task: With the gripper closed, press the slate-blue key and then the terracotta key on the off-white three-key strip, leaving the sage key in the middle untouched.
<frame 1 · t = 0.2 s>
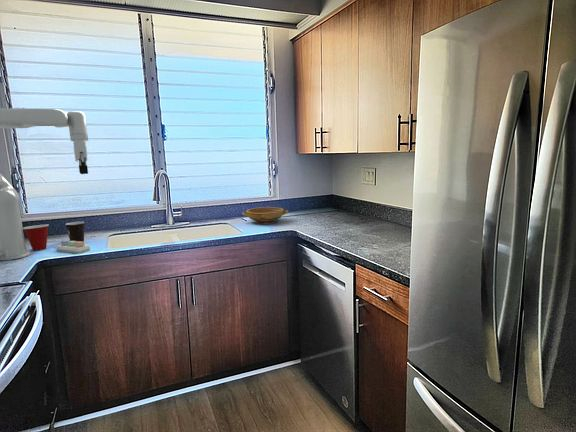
hand: (83, 173, 181), 36 cm above the worktop, tool pointing down, fingers open, 9 cm apart
sage key: (72, 243, 177), point 4 cm above the worktop, slide at 0.0 cm
keypad: (73, 250, 178), on the worktop
coffee mug: (76, 242, 195), on the worktop
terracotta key: (79, 244, 176), point 4 cm above the worktop, slide at 0.0 cm
plastic cup: (39, 249, 183), on the worktop
ceramic bowl: (265, 222, 235), on the worktop
slate blue key: (65, 242, 179), point 4 cm above the worktop, slide at 0.0 cm
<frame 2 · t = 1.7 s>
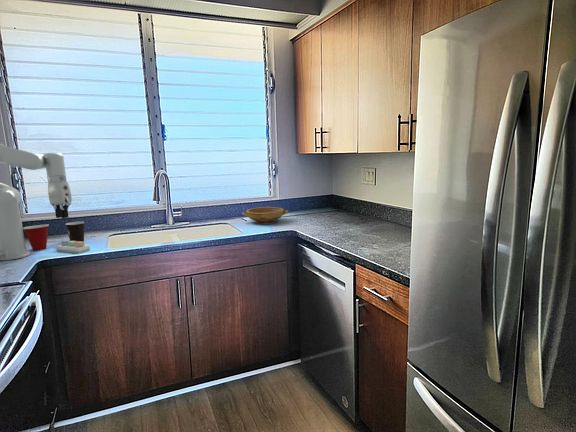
hand: (62, 217, 177), 16 cm above the worktop, tool pointing down, fingers open, 3 cm apart
nothing on the worktop moved.
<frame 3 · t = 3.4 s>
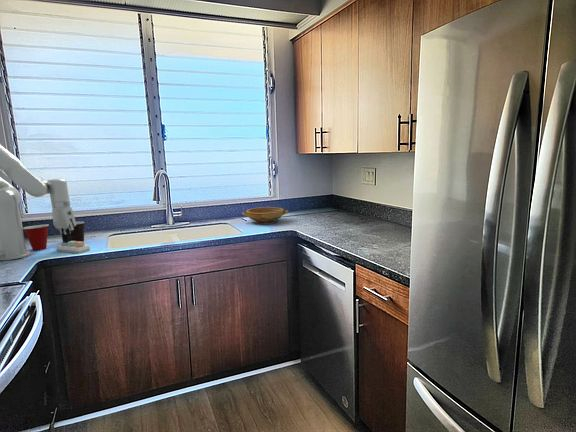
hand: (67, 241, 179), 4 cm above the worktop, tool pointing down, fingers closed
slate blue key: (66, 244, 179), point 3 cm above the worktop, slide at 0.7 cm, touching gripper
everything else where it was.
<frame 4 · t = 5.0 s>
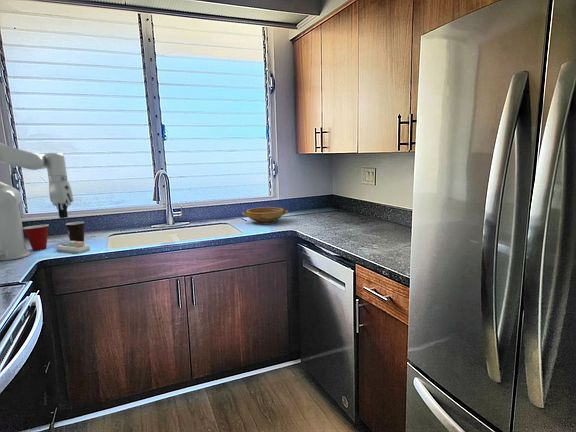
hand: (63, 217, 177), 16 cm above the worktop, tool pointing down, fingers closed
slate blue key: (66, 245, 179), point 2 cm above the worktop, slide at 1.3 cm
everything else where it was.
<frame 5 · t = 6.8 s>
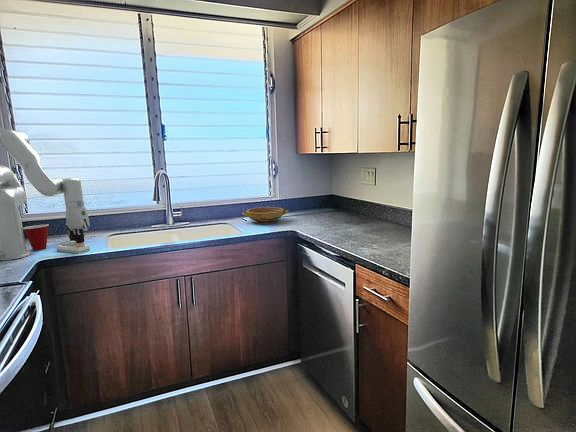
hand: (80, 242, 176), 4 cm above the worktop, tool pointing down, fingers closed
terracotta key: (79, 244, 176), point 3 cm above the worktop, slide at 0.3 cm, touching gripper
everything else where it was.
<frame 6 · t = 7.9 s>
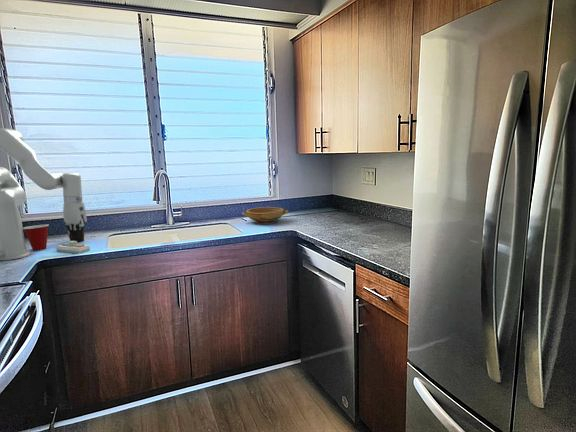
hand: (76, 237, 175), 7 cm above the worktop, tool pointing down, fingers closed
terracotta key: (80, 246, 176), point 2 cm above the worktop, slide at 1.3 cm
everything else where it was.
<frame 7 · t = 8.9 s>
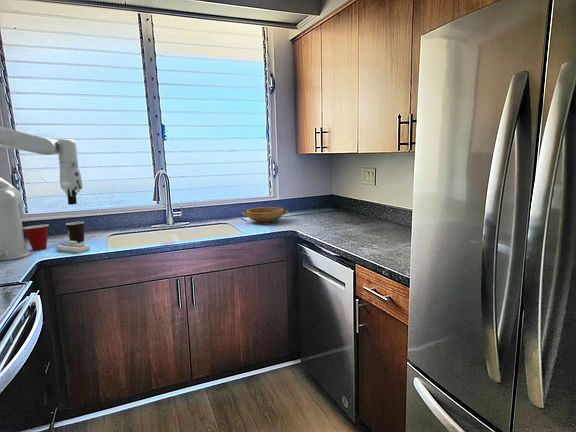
hand: (72, 204, 177), 22 cm above the worktop, tool pointing down, fingers closed
nothing on the worktop moved.
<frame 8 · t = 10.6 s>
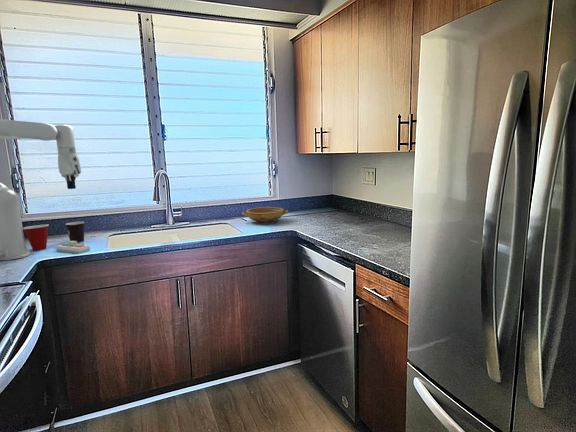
hand: (71, 188, 182), 29 cm above the worktop, tool pointing down, fingers closed
nothing on the worktop moved.
at the end: slate blue key slide at 1.3 cm; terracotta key slide at 1.3 cm; sage key slide at 0.0 cm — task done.
